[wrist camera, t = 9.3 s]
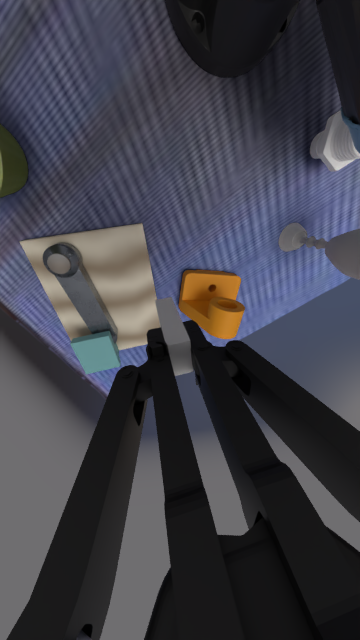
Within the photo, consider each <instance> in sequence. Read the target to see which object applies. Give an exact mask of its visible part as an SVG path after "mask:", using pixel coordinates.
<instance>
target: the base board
mask: <svg viewBox="0 0 360 640" xmlns="http://www.w3.org/2000/svg"><path fill="white" fill-rule="evenodd" d="M59 242H65V243H69V244H71V245H73V246H75V247H76V248H77V249H78V250H79V252H80V253H81V255H82V260H83V261H82V263H83V265H84V267H85V269H86V271H87V273H88V275H89V276H90V278H91V280H92V282H93V284H94V286H95V288H96V289H97V291H98V293H99V295H100V297H101V299H102V301H103V303H104V304H105V306H106V308H107V310H108V312H109V314H110V316H111V317H112V319H113V321H114V323H115V325H116V327H117V329H118V336H117V342H116V344H117V346H118V349H119V350H122V349H127V348H131V347H136V346H140V345H145V344H148V342H147V335H146V334H147V332H148V330H150V329H155V328H159V327H160V323H159V318H158V313H157V308H156V303H155V300H157V297H156V292H155V287H154V282H153V276H152V271H151V266H150V261H149V256H148V250H147V245H146V240H145V235H144V230H143V225H142V223H139V224H132V225H125V226H118V227H111V228H104V229H97V230H90V231H83V232H76V233H69V234H62V235H55V236H48V237H41V238H34V239H28V240H23V241H20V244H21V245H22V247H23V249H24V251H25V253H26V255H27V257H28V259H29V261H30V263H31V265H32V267H33V268H34V270H35V272H36V274H37V276H38V278H39V280H40V282H41V284H42V286H43V288H44V290H45V291H46V293H47V295H48V297H49V299H50V301H51V303H52V305H53V307H54V309H55V311H56V312H57V314H58V316H59V318H60V320H61V322H62V324H63V326H64V328H65V330H66V332H67V334H68V335H69V337H70V339H71V341H72V339H73V338H77V337H82V336H87V335H91V334H92V333H91V331H90V330H89V328H88V327H87V325H86V324H85V322H84V321H83V319H82V317H81V316H80V314H79V313H78V311H77V310H76V308H75V306H74V305H73V303H72V302H71V300H70V299H69V297H68V296H67V294H66V292H65V291H64V289H63V288H62V286H61V285H60V283H59V281H58V280H57V278H56V277H55V275H53V274H52V273H50V272H49V271H48V270H47V269H46V267H45V265H44V263H43V253H44V251H45V250H46V249H47V248H48V247H50V246H52V245H54V244H56V243H59ZM47 264H48V266H49V268H50V269H51V270H52V271H53V272H55V273H58V274H64V273H66V272H68V270H69V269H70V268H71V261H70V259H69V258H68V257H67V256H66V255H64V254H62V253H54V254H52V255H51V256H50V257H49V258H48V260H47Z"/></svg>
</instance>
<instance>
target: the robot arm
mask: <svg viewBox="0 0 360 640" xmlns="http://www.w3.org/2000/svg"><path fill="white" fill-rule="evenodd" d="M165 1H166V5H167V9H168V12H169V15H170V18H171V21H172V24H173V26H174V29H175V31H176V33H177V35H178V37H179V39H180V41H181V43H182V45H183V46H184V48H185V49H186V51H187V52H188V54H189V55H190V56H191V57H192V59H193V60H194V61H195V62H196V63H197V64H198V65H199V66H200V67H202V68H203V69H204V70H206V71H207V72H209V73H211V74H213V75H216V76H220V77H236V76H240V75H242V74H245V73H247V72H248V71H250V70H251V69H253V68H254V67H255V66H257V65H258V64H259V63H260V62H261V61H262V60H263V59H264V58H265V56H266V55H267V54H268V53H269V52H270V51H271V50H272V49H273V47H274V46H275V45H276V44H277V42H278V41H279V40H280V38H281V37H282V35H283V34H284V32H285V30H286V29H287V27H288V25H289V23H290V21H291V19H292V17H293V15H294V13H295V11H296V9H297V7H298V4H299V2H300V0H165ZM316 4H317V9H318V13H319V17H320V21H321V25H322V29H323V33H324V37H325V41H326V45H327V49H328V53H329V57H330V60H331V64H332V68H333V72H334V76H335V80H336V84H337V88H338V92H339V96H340V101H341V105H342V107H341V116H342V120H343V121H344V123H345V124H346V125H347V126H348V129H349V132H350V135H351V138H352V141H353V144H354V147H355V149H356V150H357V151H358V153H360V0H316ZM155 303H156V308H157V313H158V318H159V323H160V327H159V328H155V329H150V330H148V332H147V334H146V335H147V342H148V346H147V347H146V352H147V356H148V360H147V362H146V363H144V364H143V365H141V366H139V367H136V366H134V365H128V366H125V367H123V368H121V369H120V370H119V371H118V372H117V374H116V376H115V379H114V382H113V384H112V387H111V389H110V392H109V395H108V397H107V400H106V403H105V405H104V408H103V410H102V413H101V415H100V418H99V421H98V424H97V426H96V429H95V431H94V434H93V436H92V439H91V441H90V444H89V447H88V450H87V452H86V455H85V457H84V460H83V462H82V465H81V467H80V470H79V473H78V476H77V478H76V480H75V483H74V486H73V488H72V491H71V493H70V496H69V499H68V501H67V504H66V506H65V509H64V512H63V514H62V517H61V519H60V522H59V525H58V527H57V530H56V532H55V535H54V538H53V540H52V543H51V545H50V548H49V551H48V553H47V556H46V559H45V561H44V564H43V566H42V569H41V571H40V574H39V577H38V579H37V582H36V585H35V587H34V590H33V592H32V595H31V598H30V600H29V602H28V604H27V605H26V607H25V609H24V611H23V612H22V614H21V616H20V617H19V619H18V621H17V623H16V624H15V626H14V628H13V629H12V631H11V633H10V634H9V636H8V638H7V640H99V639H100V636H101V633H102V629H103V626H104V622H105V619H106V615H107V611H108V608H109V604H110V599H111V595H112V590H113V586H114V581H115V576H116V571H117V565H118V560H119V554H120V549H121V543H122V537H123V532H124V527H125V521H126V516H127V510H128V505H129V499H130V494H131V488H132V483H133V477H134V472H135V466H136V461H137V455H138V450H139V445H140V439H141V434H142V428H143V422H144V417H145V411H146V406H147V399H148V398H150V397H152V396H153V401H154V409H155V418H156V426H157V434H158V442H159V451H160V460H161V468H162V476H163V485H164V493H165V504H164V505H165V519H166V528H167V537H168V546H169V555H170V563H171V568H170V569H169V571H168V573H167V575H166V576H165V578H164V580H163V583H162V585H161V588H160V590H159V593H158V596H157V599H156V602H155V605H154V608H153V612H152V615H151V618H150V622H149V625H148V628H147V632H146V635H145V638H144V640H360V552H359V551H358V550H356V549H355V548H354V547H353V546H351V545H350V544H349V543H347V542H346V541H345V540H343V539H342V538H341V537H340V536H338V535H337V534H336V533H335V532H333V531H332V530H330V529H329V528H328V527H326V526H325V525H324V523H323V522H322V520H321V518H320V517H319V515H318V513H317V512H316V510H315V508H314V507H313V505H312V503H311V502H310V500H309V498H308V497H307V495H306V493H305V492H304V490H303V488H302V487H301V485H300V483H299V482H298V480H297V478H296V477H295V475H294V474H293V472H292V471H291V469H290V468H289V467H288V466H287V465H286V464H284V463H282V462H281V461H280V460H279V459H278V458H277V456H276V455H275V453H274V451H273V450H272V448H271V446H270V444H269V443H268V441H267V439H266V438H265V436H264V434H263V432H262V430H261V429H260V427H259V425H258V423H257V422H256V420H255V418H254V417H253V415H252V413H251V411H250V409H249V408H248V406H247V404H246V403H245V401H244V399H245V400H246V401H247V402H248V403H249V405H251V407H252V408H253V409H254V410H255V411H256V412H257V413H258V414H259V415H260V416H261V418H262V419H263V420H264V421H265V422H266V423H267V424H268V425H269V426H270V427H271V428H272V430H273V431H274V432H275V433H276V434H277V435H278V436H279V437H280V438H281V439H282V441H283V442H284V443H285V444H286V445H287V446H288V447H289V448H290V449H291V450H292V452H293V453H294V454H295V455H296V456H297V457H298V458H299V459H300V460H301V461H302V462H303V463H304V465H305V466H306V467H307V468H308V469H309V470H310V471H311V472H312V473H313V474H314V476H315V477H316V478H317V479H318V480H319V481H320V482H321V483H322V484H323V485H324V486H325V488H326V489H327V490H328V491H329V492H330V493H331V494H332V495H333V496H334V497H335V498H336V499H337V500H338V501H339V503H340V504H341V505H342V506H343V507H344V508H345V509H346V510H347V511H348V512H349V513H350V514H351V515H353V516H354V517H355V518H356V519H357V520H358V521H359V522H360V431H358V430H357V429H356V428H355V427H353V426H352V425H351V424H349V423H348V422H347V421H345V420H344V419H343V418H341V417H340V416H339V415H337V414H336V413H335V412H334V411H332V410H331V409H329V408H328V407H327V406H326V405H325V404H323V403H322V402H321V401H319V400H318V399H317V398H315V397H314V396H313V395H312V394H310V393H309V392H308V391H306V390H305V389H304V388H302V387H301V386H300V385H298V384H297V383H296V382H295V381H293V380H292V379H290V378H289V377H288V376H287V375H285V374H284V373H283V372H281V371H280V370H279V369H278V368H276V367H275V366H274V365H272V364H271V363H270V362H268V361H267V360H266V359H264V358H263V357H262V356H261V355H259V354H258V353H257V352H255V351H254V350H253V349H252V348H250V347H249V346H248V345H246V344H244V343H243V342H241V341H238V340H233V341H229V342H228V343H227V344H226V347H217V346H213V345H212V344H211V343H210V342H208V341H207V340H206V338H205V337H204V335H203V333H202V331H201V329H200V328H199V326H198V324H197V323H196V322H195V321H193V320H190V321H185V322H182V320H181V318H180V316H179V313H178V311H177V309H176V306H175V304H174V302H173V300H172V297H169V298H164V299H159V300H155ZM193 368H194V370H195V377H196V385H199V388H200V391H201V394H202V396H203V399H204V401H205V404H206V407H207V410H208V413H209V415H210V418H211V421H212V423H213V426H214V429H215V432H216V434H217V437H218V440H219V442H220V445H221V448H222V450H223V453H224V456H225V458H226V461H227V464H228V467H229V469H230V472H231V475H232V477H233V480H234V483H235V485H236V488H237V491H238V494H239V496H240V500H241V504H242V509H243V513H244V516H245V519H246V522H247V525H248V528H249V530H248V531H247V532H246V533H245V534H244V535H241V536H233V535H217V532H216V528H215V524H214V521H213V517H212V513H211V509H210V506H209V502H208V499H207V495H206V492H205V489H204V486H203V482H202V479H201V475H200V471H199V467H198V463H197V459H196V456H195V452H194V448H193V444H192V440H191V436H190V432H189V429H188V425H187V421H186V417H185V413H184V410H183V406H182V402H181V398H180V394H179V390H178V386H177V382H176V379H175V376H177V375H181V374H185V373H189V372H193ZM243 398H244V399H243Z"/></svg>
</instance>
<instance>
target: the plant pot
mask: <svg viewBox="0 0 360 640" xmlns="http://www.w3.org/2000/svg"><path fill="white" fill-rule="evenodd" d="M27 178H28V164H27V160H26V157H25V154H24V152H23V150H22V148H21V147H20V145H19V144H18V142H17V141H16V139H15V138H14V137H13V136H12V134H11V133H10V132H9V131H8V130H7V129H6V128H4V127H3V126H2V125H1V124H0V198H1V197H4V196H6V195H9V194H12V193H15V192H17V191H19V190H20V189H21V188H22V187H23V186H24V185H25V183H26V181H27Z"/></svg>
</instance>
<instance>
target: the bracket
mask: <svg viewBox="0 0 360 640" xmlns="http://www.w3.org/2000/svg"><path fill="white" fill-rule="evenodd" d="M240 283H241V278H240V277H239V276H237V275H236V274H234V273H225V272H224V271H211V270H198V269H196V270H186V271H185V272H184V273H183V277H182V284H181V291H180V298H179V305H178V306H179V308H180V311H182V312H183V313H184V314H185V315H187V316H188V317H189V318H190V319H192V320H193V321H195V322H196V323H197V324H198V325H199V326H200V327H201V328H203V329H204V330H205V331H206V332H208V333H209V334H211V335H212V336H215V337H217V338H222V339H231V338H234V337H235V336H236V334H237V331H238V328H239V325H240V322H241V319H242V316H243V313H244V310H245V307H244V306H243V305H242V304H241V303H240V302H238V301H236V296H237V293H238V290H239V286H240Z"/></svg>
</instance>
